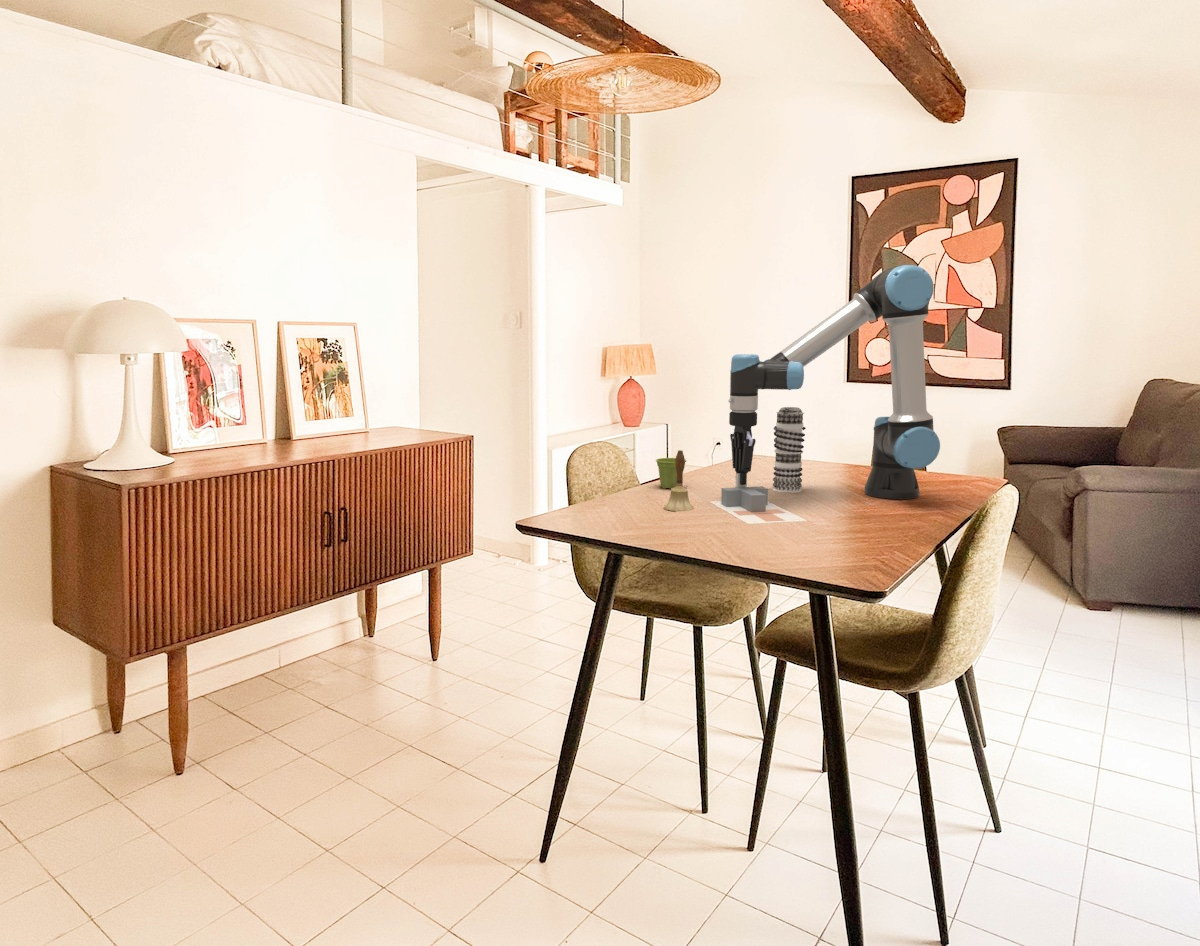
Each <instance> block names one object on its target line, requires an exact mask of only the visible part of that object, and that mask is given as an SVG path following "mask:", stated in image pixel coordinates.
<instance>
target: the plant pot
mask: <svg viewBox="0 0 1200 946" xmlns="http://www.w3.org/2000/svg"><path fill="white" fill-rule="evenodd" d="M675 459H676V457H660V458H656V459H655V462H656V463H657V467H658V474H659V475H658V476H659V482H660V488H661V487H662V489H664V488H666V489H670V488H674V487H676V481H677V471H676V467H675ZM686 462H687V459H686V458H685V463H686Z"/></svg>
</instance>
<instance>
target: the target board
mask: <svg viewBox="0 0 1200 946" xmlns="http://www.w3.org/2000/svg"><path fill="white" fill-rule="evenodd" d="M710 503H711V504H713V505H714V506H716V507H718V508H720V510H723V511H725V512H726V513H729V514H730V515H732V516H734V517H736V518H737V519H739V520H741V521H743V522H744V523H746V524H748V525H754V524H755V525H756V524H772V523H773V524H774V523H775V524H776V523H792V522H807V521H808V520H807V519H805V518H803V517H801V516H799V515H797V514H795V513H793V512H790V511H788V510H786V509H784V508H783V507H780V506H778V505H775V504H774V503H771V502H770V501H768V505H766V511H765V512H750V511H748V510H746V509H744V508H742V507H741V506H735V507H726V506H724V505H722V504H721V500H715V501H714V500H713V501H710Z"/></svg>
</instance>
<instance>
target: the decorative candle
mask: <svg viewBox="0 0 1200 946" xmlns="http://www.w3.org/2000/svg"><path fill="white" fill-rule="evenodd" d="M804 414H805V412H803V411H802V409H801V408H800V407H795V406H794V407H793V406H783V407H781V408H779V410H778V411H776V423H775V426H774V427H773V430H774V432H773V435H774V436H775V437H774V439H773V442H774V443H773V447H774V448H775V449H774V450H773V451H774V453H775V461H774V466H773V470H774V472H773V475H774V477H773V478H772V481H773V483H772V486H773V488H772V490H773V491H775V492H780V493H795V494H796V493H801V492H802V487H803V486H802V482H803V479H802V478H801V477H802V476H803V473H802V471H803V467H802V464H803V463H802V454H803V453H804V451H803V450H802V449H804V448H805V447H804V445H803V444H802V443H803V442H805V439H804V438H803V437H805V436H806V434H805V433H804V432H803V431H804V430H806V428H807V427H805V426H804V422H803V421H804Z"/></svg>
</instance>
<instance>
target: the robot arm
mask: <svg viewBox="0 0 1200 946" xmlns="http://www.w3.org/2000/svg"><path fill="white" fill-rule="evenodd" d="M934 286H935V285H934V282H933V279H932V276H931V274H929V272H928V271H926V270H925V269H924V268H922V267H920V266H918V265H914V264H913V265H912V264H903V265H899V266H896V267H891V268H888V269H886V270H883V271H881V272H880V273H879V274H876V276H875V277H874V278H873V279H871V280H870V281H869V282H867V284H865V285H864V286H863V287H862V288H860V289H859V290H857V291H856V292H855V293H854V294H853V297H852V299H851V300H850V301H848V302H847V303H846V304H844V305H843V306H841V307H840V308H839V309H838V310H836V311H835V312H833V313H832V314H831V315H829V316H828V317H826V318H825V319H823V321H821V322H819V323H818V324H817V325H815V326H814V327H812V328H811V329H809V330H808V331H807V332H805V333H804V334H803V335H801V336H800V337H798V338H797V339H796V340H794V341H793V342H792V343H790V344H789V345H787V346H786V347H785V348H783V349H782V350H780V351H779V352H778V353H777V354H775V355H774V356H772V357H770V358H769V359H765V360H764V361H761V360H760V357H759V355H758V354H752V353H751V354H748V353H747V354H745V353H744V354H743V353H740V354H738V353H737V354H734V355H733V356H732V357H731V360H730V361H731V362H730V364H731V365H730V371H729V372H730V380H729V381H730V382H729V383H730V385H729V392H730V393H729V399H728V400H727V401H728V403H729V410H731V411H730V412H729V413H728V414H729V420H728V424H729V425H730V426H732V427H734V429H733V433H730V435H729V437H730V441H731V443H730V444H731V459H732V469H734V471H735V487H748V486H747V485H748V474H749V473H750V472H751V470H752V465H753V457H754V456H753V455H754V450H755V449H754V448H755V445H756V438H753V433H752V427H755V426H757V424H758V413H757V412H756V411H758V408H759V407H758V406H759V405H758V404H759V395H758V394H759V390H781V391H782V390H788V391H792V390H800V389H802V388H803V385H804V379H805V369H804V367H806V366H807V365H808V364H810V363H811V362H812V361H814V360H816V359H817V358H818V357H820V356H821V355H822V354H824V353H825V352H826V351H829V350H830V349H831V348H833V346H835V345H836V344H838V343H840V342H841V341H843V340H844V339H845V338H847V336H849V335H851V334H852V333H854V332H855V331H856V330H858V329H859V328H861V327H862V326H863V325H865V324H866V323H867V322H875V321H877V320H879V318H881V317H882V321H883V322H885V324H887V326H888V336H889V337H888V338H889V351H890V352H889V356H890V360H889V361H890V378H891V394H892V414H891V415H890V416H879V417H877V418H875V421H874V425H873V443H872V446H873V447H872V464H871V465H872V466H871V470H870V471H869V474H868V477H867V479H866V481H865V482H866V483H865V484H864V494H865V495H867V496H868V497H869V496H870V497H874V498H880V499H890V500H910V499H916V498H919V496H920V487H919V482H918V479H917V475H916V472H915V469H917V470H918V469H923V468H925V467H928V466H929V465H931V464H932V463H933V462H934V461H935V460H936V459H937V458H938V455H939V454H940V450H941V440H940V438H939V436H938V434H937V432H935V431H934V417H933V415H932V414H930V413H929V412H928V410H927V392H926V391H927V390H926V389H927V388H926V369H925V368H926V367H925V366H926V365H925V364H926V363H925V344H924V321H925V320H926V318H927V317H928V316H929V302H930V301H931V299H932V297H933V294H934V290H935V289H934V288H935V287H934Z"/></svg>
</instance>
